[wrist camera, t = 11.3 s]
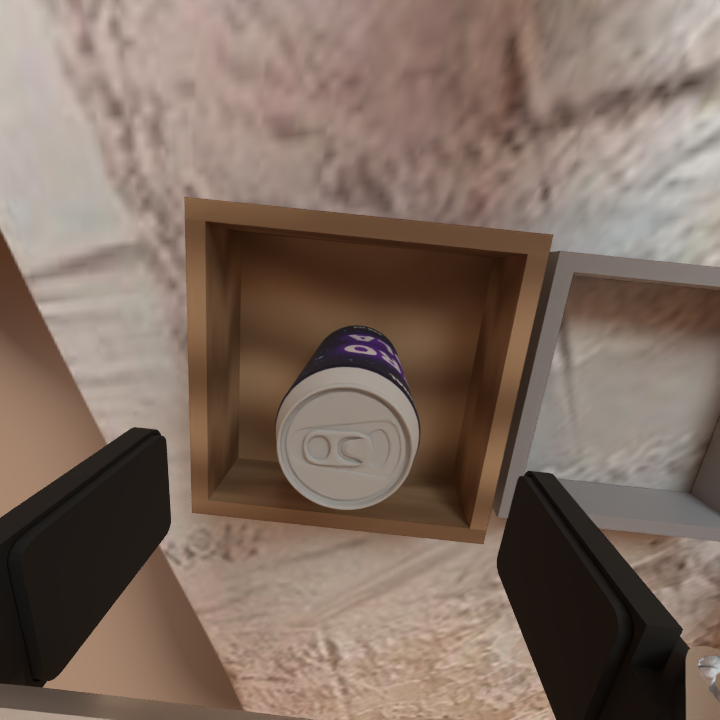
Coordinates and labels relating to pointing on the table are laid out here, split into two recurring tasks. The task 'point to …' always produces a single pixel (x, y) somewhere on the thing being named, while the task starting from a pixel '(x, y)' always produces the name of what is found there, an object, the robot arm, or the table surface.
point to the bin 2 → (599, 501)
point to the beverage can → (348, 422)
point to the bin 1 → (348, 308)
